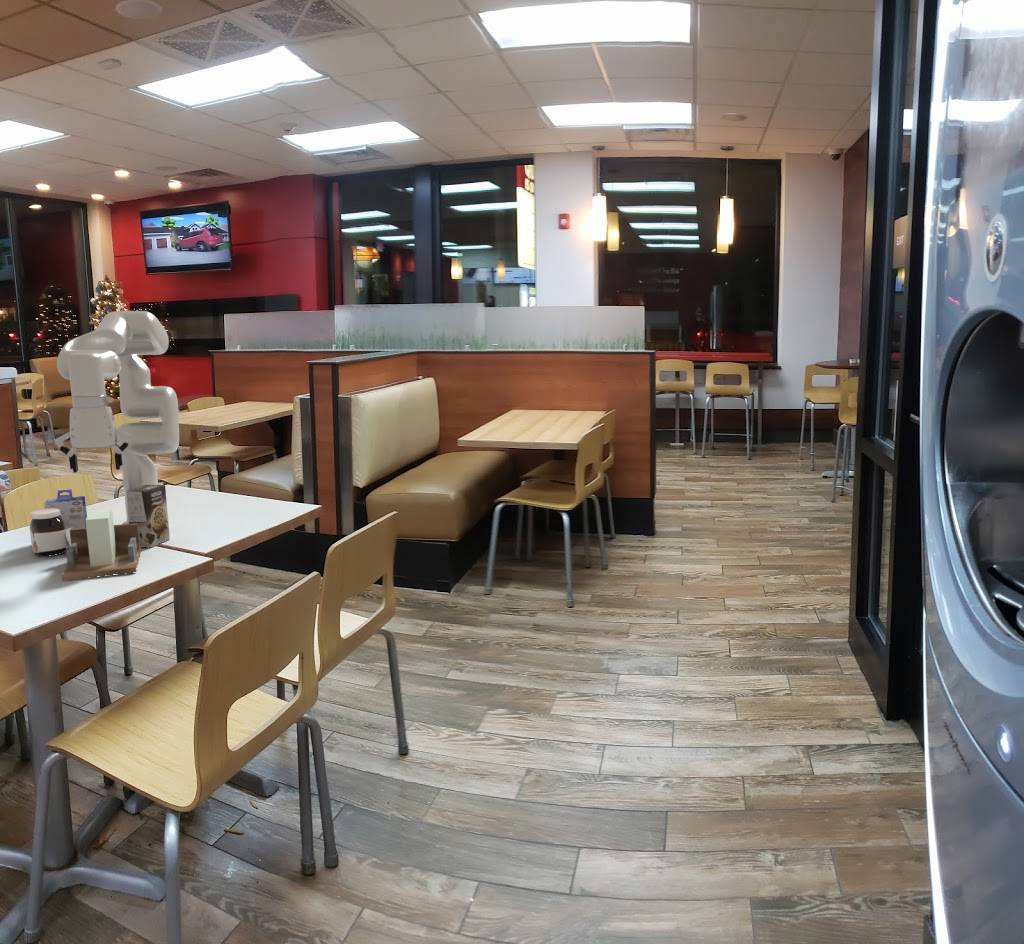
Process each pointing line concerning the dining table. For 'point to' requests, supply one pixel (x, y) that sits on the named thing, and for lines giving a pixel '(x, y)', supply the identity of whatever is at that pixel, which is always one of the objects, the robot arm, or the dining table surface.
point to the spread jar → (48, 532)
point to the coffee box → (149, 513)
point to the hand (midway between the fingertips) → (97, 470)
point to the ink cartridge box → (69, 509)
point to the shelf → (122, 564)
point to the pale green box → (101, 537)
